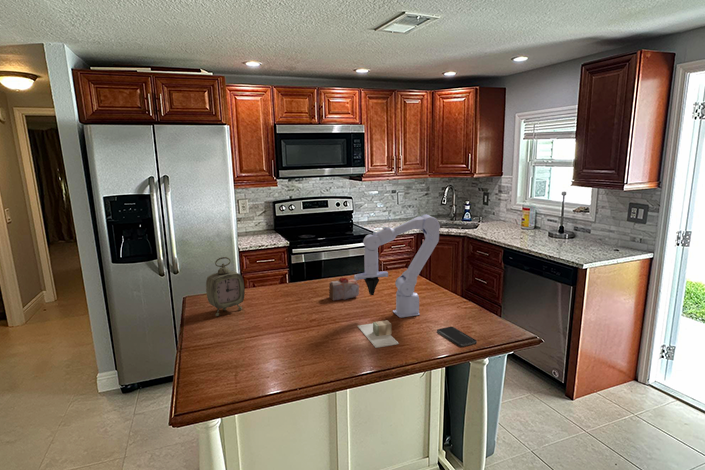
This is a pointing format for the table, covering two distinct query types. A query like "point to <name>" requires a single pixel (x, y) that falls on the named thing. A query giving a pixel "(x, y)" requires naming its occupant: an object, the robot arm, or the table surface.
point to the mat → (377, 337)
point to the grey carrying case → (343, 289)
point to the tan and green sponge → (382, 328)
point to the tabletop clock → (225, 288)
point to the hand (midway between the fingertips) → (371, 294)
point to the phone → (456, 336)
